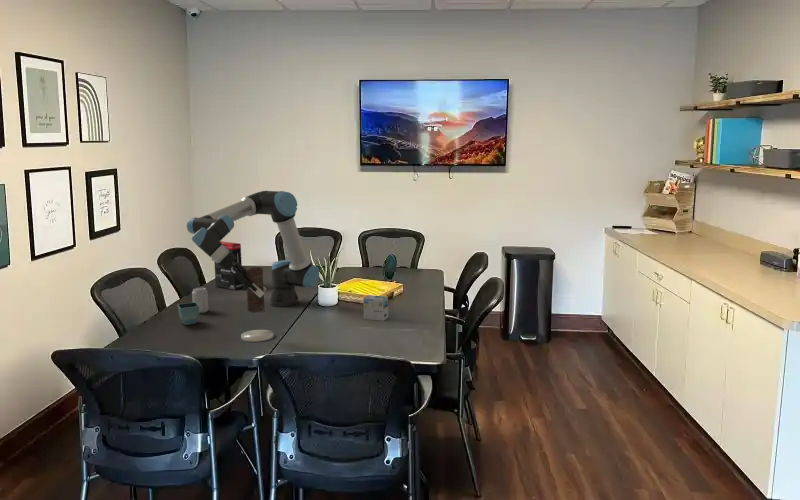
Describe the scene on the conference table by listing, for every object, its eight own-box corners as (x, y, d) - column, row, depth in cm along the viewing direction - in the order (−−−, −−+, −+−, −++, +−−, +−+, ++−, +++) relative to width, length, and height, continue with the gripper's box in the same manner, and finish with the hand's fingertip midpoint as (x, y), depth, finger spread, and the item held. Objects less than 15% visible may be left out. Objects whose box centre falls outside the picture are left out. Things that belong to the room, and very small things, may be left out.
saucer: (266, 330, 297) (266, 328, 297) (278, 338, 286) (278, 335, 285) (236, 335, 290) (236, 333, 290) (247, 343, 278) (247, 340, 278)
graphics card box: (243, 288, 384) (241, 242, 380) (235, 290, 378) (232, 244, 374) (223, 285, 393) (221, 240, 389) (214, 287, 387) (212, 241, 383)
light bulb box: (388, 317, 318) (388, 296, 316) (383, 321, 312) (383, 299, 310) (368, 315, 322) (368, 294, 320) (363, 319, 315) (362, 297, 314)
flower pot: (181, 327, 304) (180, 308, 303) (178, 322, 312) (176, 304, 310) (200, 324, 308) (199, 306, 307) (197, 320, 316) (196, 302, 314)
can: (204, 313, 327) (202, 290, 325) (190, 313, 329) (188, 289, 327) (211, 310, 334) (210, 287, 332) (197, 309, 336) (196, 286, 334)
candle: (255, 315, 281) (254, 269, 278) (243, 313, 285) (241, 268, 281) (268, 311, 287) (266, 266, 284) (256, 309, 291) (254, 265, 288)
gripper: (222, 259, 291) (260, 294, 295) (213, 268, 271) (254, 305, 275) (233, 247, 290) (271, 282, 294) (225, 255, 271) (266, 292, 275)
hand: (263, 293), depth 285 cm, fingers closed on candle, 7 cm apart
